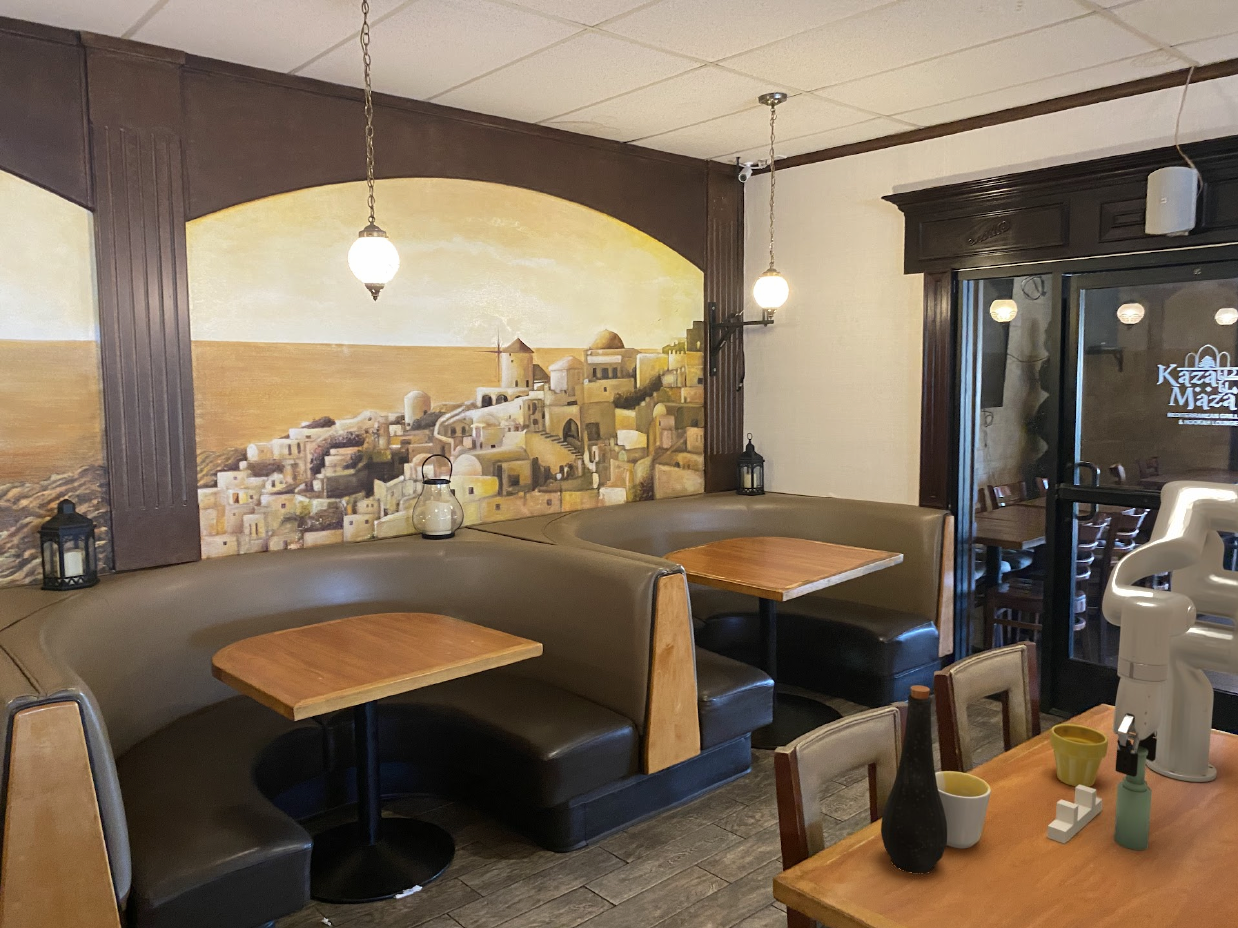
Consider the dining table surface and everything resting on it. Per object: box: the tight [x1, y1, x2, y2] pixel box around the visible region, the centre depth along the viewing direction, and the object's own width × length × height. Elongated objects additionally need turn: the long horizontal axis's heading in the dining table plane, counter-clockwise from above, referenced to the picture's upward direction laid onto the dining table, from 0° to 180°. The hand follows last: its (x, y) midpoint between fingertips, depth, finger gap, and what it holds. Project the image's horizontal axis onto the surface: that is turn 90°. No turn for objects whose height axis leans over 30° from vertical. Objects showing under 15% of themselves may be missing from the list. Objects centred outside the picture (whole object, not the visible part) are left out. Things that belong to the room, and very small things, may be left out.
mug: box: [935, 770, 992, 849], centre depth 164 cm, size 14×10×10 cm
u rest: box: [1046, 784, 1103, 845], centre depth 170 cm, size 18×3×5 cm, turn 134°
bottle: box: [880, 684, 947, 875], centre depth 155 cm, size 11×11×30 cm
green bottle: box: [1113, 746, 1153, 851], centre depth 163 cm, size 5×5×17 cm
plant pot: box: [1049, 723, 1109, 788], centre depth 188 cm, size 10×10×10 cm
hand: (1135, 765), depth 162 cm, fingers open, 9 cm apart
